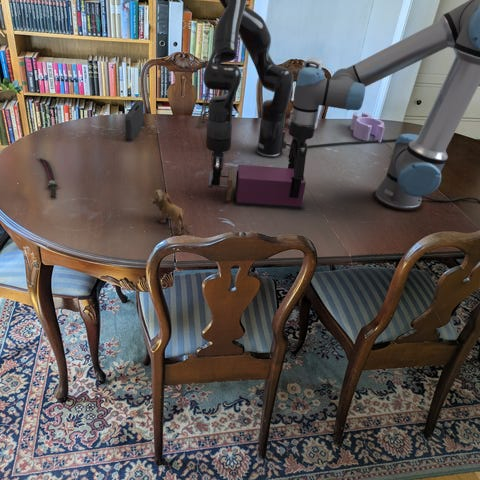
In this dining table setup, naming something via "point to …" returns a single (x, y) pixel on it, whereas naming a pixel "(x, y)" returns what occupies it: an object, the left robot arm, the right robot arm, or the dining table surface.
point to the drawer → (229, 183)
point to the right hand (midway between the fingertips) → (291, 189)
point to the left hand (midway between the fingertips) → (216, 184)
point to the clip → (366, 127)
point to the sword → (52, 181)
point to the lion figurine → (169, 209)
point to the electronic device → (319, 66)
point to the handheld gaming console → (134, 120)
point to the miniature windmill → (205, 100)
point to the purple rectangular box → (267, 187)
